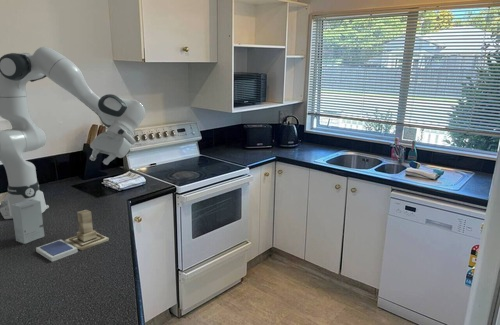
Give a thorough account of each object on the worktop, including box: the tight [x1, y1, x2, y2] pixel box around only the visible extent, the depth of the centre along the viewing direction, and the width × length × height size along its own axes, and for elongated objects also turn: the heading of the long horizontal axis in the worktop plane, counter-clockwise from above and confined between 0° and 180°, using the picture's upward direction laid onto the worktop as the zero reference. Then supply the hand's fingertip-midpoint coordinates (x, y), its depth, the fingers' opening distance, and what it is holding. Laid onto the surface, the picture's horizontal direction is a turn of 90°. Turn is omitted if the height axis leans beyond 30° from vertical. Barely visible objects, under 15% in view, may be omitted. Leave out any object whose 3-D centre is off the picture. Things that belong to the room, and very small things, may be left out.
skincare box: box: [11, 199, 45, 245], centre depth 142 cm, size 8×6×15 cm
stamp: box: [76, 209, 97, 243], centre depth 141 cm, size 5×5×11 cm
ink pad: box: [35, 238, 79, 262], centre depth 133 cm, size 12×9×2 cm
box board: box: [64, 231, 110, 251], centre depth 142 cm, size 12×11×1 cm
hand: (98, 161), depth 146 cm, fingers open, 8 cm apart
